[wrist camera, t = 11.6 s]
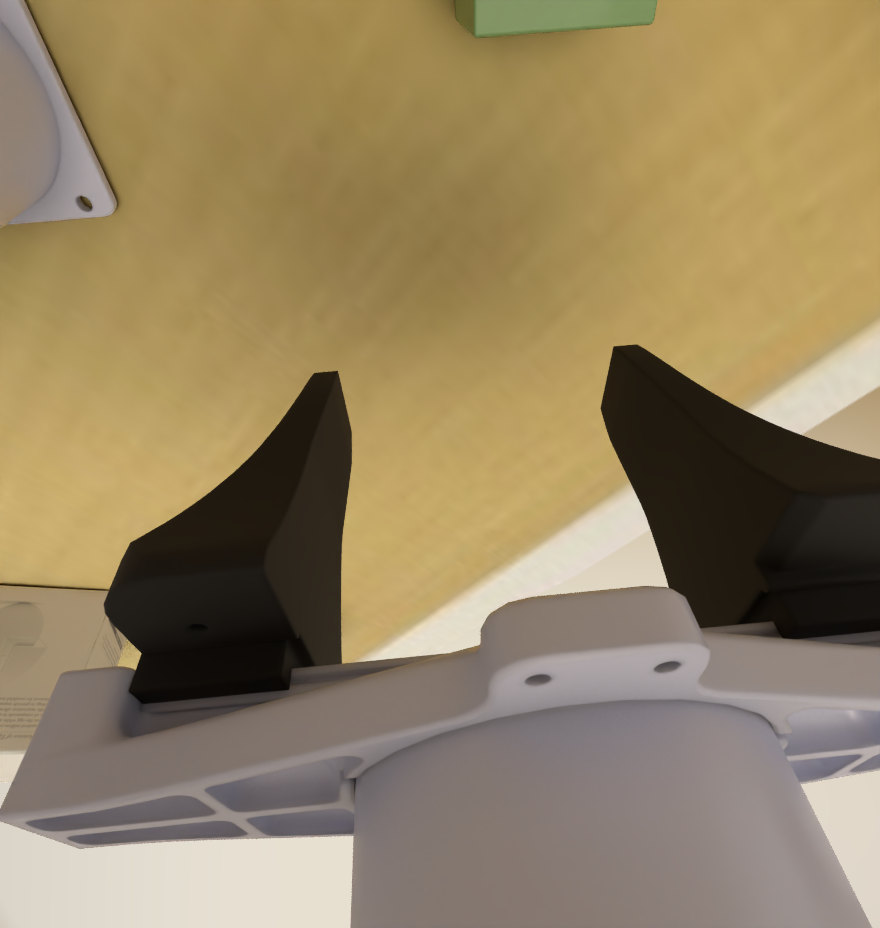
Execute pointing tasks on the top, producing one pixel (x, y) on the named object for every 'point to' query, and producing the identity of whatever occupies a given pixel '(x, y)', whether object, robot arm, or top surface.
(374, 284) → the top surface
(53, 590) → the cosmetics box
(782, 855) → the robot arm
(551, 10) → the block
